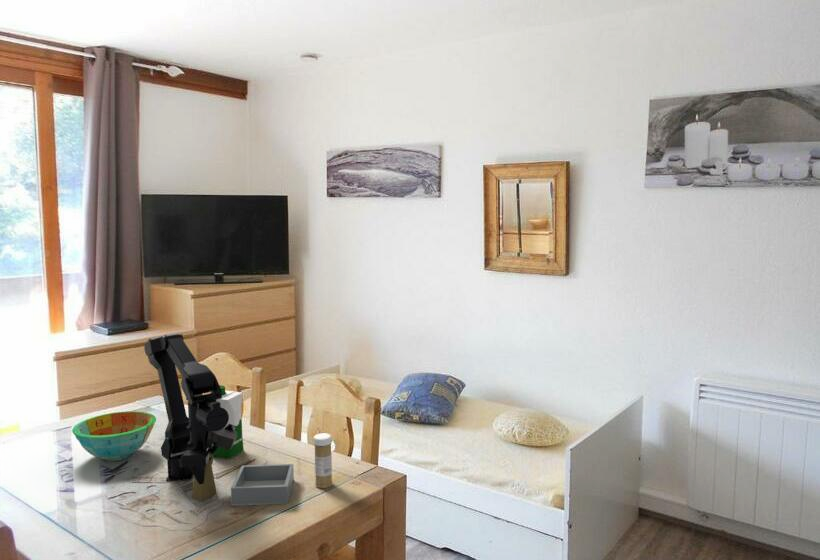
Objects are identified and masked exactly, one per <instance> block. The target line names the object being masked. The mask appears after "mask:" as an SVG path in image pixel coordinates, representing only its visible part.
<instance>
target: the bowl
mask: <svg viewBox="0 0 820 560" xmlns="http://www.w3.org/2000/svg"><path fill="white" fill-rule="evenodd" d="M156 420H157V417H156V416H155V415H154V414H152V413H150V412H145V411H132V410H131V411H130V410H129V411H128V410H126V411H117V412H110V413H104V414H100V415H99V414H98V415H96V416H93V417H90V418H87V419H84V420H82V421H80V422H78V423H77V424H75V425H74V426H73V427H72V429H71V430H72V431H71V432H72V434H73V435H74V436H75V439H76V440H77V441H78V442H79V444H80V446H81V447H82V448H83V450H84V451H85V452H87V453H89V454H90V455H91V456H93V457H96V458H98V459H102V460H105V461H108V462H109V461H110V462H111V461H113V462H114V461H115V462H116V461H120V460H124V459H127V458H129V457H130V456H131V455H132V454H135V452H137V451H138V450H139V449H141V448H142V447H143V445H145V443H146V442H147V440H148V438H149V437H150V435H151V433H152V430H153V428H154V425H155V423H156V422H157V421H156ZM126 457H127V458H126Z"/></svg>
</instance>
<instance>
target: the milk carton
mask: <svg viewBox="0 0 820 560" xmlns="http://www.w3.org/2000/svg"><path fill="white" fill-rule="evenodd" d="M219 386H220V388H221V390H222V392H221V395H222V398H221V399H216V401H218V402H220V407H222V408H224V409H225V410H226V411H227V412H228V415H229V420H228V423H227V425H228V424H233V425H234V428H235V431H237V436H236V439H235V442H234V445H233V447H232V449H231V450H225V449H224V448H222V447H218V448H217V450H216V451H215V452H214V453H213V454H212V455H213V458H219V457H220V458H221V459H226V460H231V459H232V458H234V457H235V456H237V455H238V454H240V453H241V452H243V451H245V449H244V439H243V422H242V421H243V417H242V404H243V392H240V391H236V390H226V387H225V385H222V384H221V385H220V384H219ZM210 393H214V391H212V392H210ZM227 425H226V426H227ZM226 426H225V427H226ZM225 427H224V428H225Z"/></svg>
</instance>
